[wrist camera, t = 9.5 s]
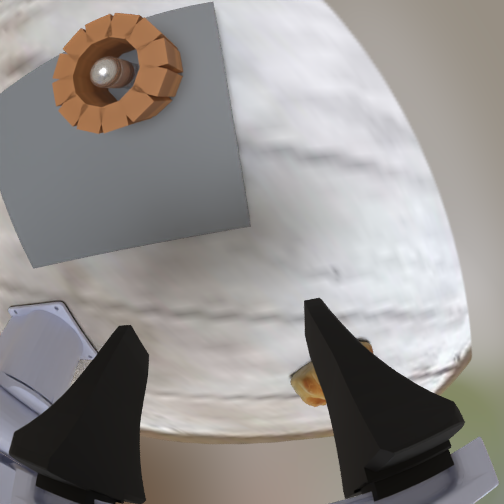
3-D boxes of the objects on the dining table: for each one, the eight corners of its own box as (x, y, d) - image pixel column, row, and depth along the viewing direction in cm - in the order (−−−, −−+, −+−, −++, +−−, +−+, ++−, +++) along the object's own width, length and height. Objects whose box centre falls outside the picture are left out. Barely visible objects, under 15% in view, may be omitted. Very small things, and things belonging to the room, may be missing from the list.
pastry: (347, 327, 26) (360, 356, 23) (380, 345, 28) (392, 371, 25) (283, 376, 29) (289, 404, 26) (322, 388, 32) (329, 413, 29)
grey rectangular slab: (41, 258, 19) (33, 268, 18) (-7, 106, 12) (-19, 109, 10) (248, 216, 19) (250, 226, 17) (214, 9, 11) (213, 1, 10)
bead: (99, 135, 13) (65, 148, 10) (84, 51, 11) (47, 45, 7) (189, 108, 13) (177, 111, 10) (174, 19, 11) (157, -3, 7)
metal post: (122, 92, 12) (86, 93, 9) (118, 68, 12) (82, 62, 8) (147, 84, 12) (117, 80, 9) (143, 60, 12) (112, 49, 8)
